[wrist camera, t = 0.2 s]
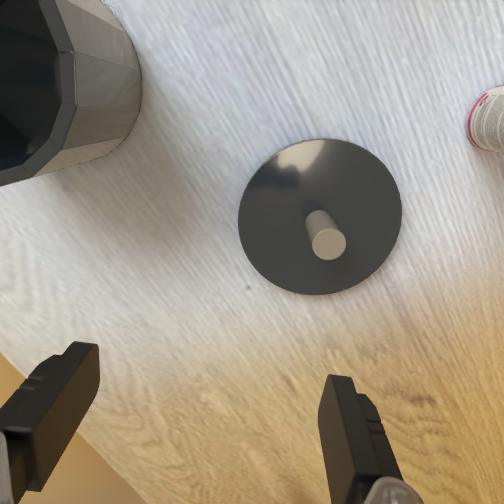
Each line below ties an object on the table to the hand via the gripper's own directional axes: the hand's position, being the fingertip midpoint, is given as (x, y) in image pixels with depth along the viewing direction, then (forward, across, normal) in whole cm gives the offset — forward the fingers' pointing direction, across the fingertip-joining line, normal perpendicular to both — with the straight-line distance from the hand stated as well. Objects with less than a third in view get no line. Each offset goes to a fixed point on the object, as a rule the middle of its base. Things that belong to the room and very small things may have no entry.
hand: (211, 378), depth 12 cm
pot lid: (+20, -6, 0) cm, 21 cm away
